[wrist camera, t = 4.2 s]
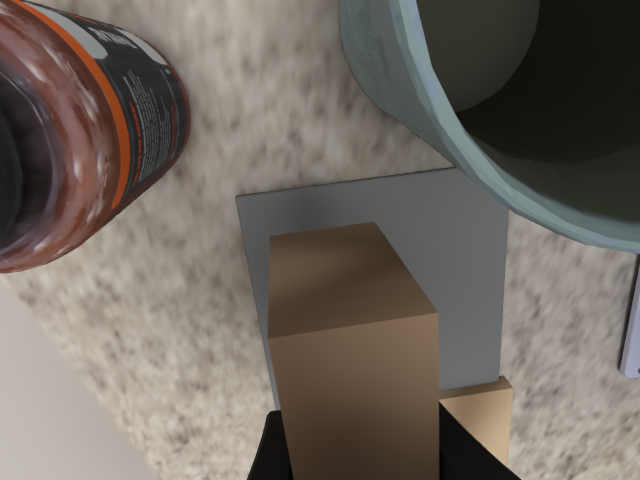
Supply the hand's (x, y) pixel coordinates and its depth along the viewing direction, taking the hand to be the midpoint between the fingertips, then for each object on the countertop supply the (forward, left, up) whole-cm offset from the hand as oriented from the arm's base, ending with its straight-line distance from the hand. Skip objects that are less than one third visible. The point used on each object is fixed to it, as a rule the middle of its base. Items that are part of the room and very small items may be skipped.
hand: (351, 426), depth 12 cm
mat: (-3, +6, -9) cm, 11 cm away
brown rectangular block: (0, 0, -2) cm, 2 cm away
